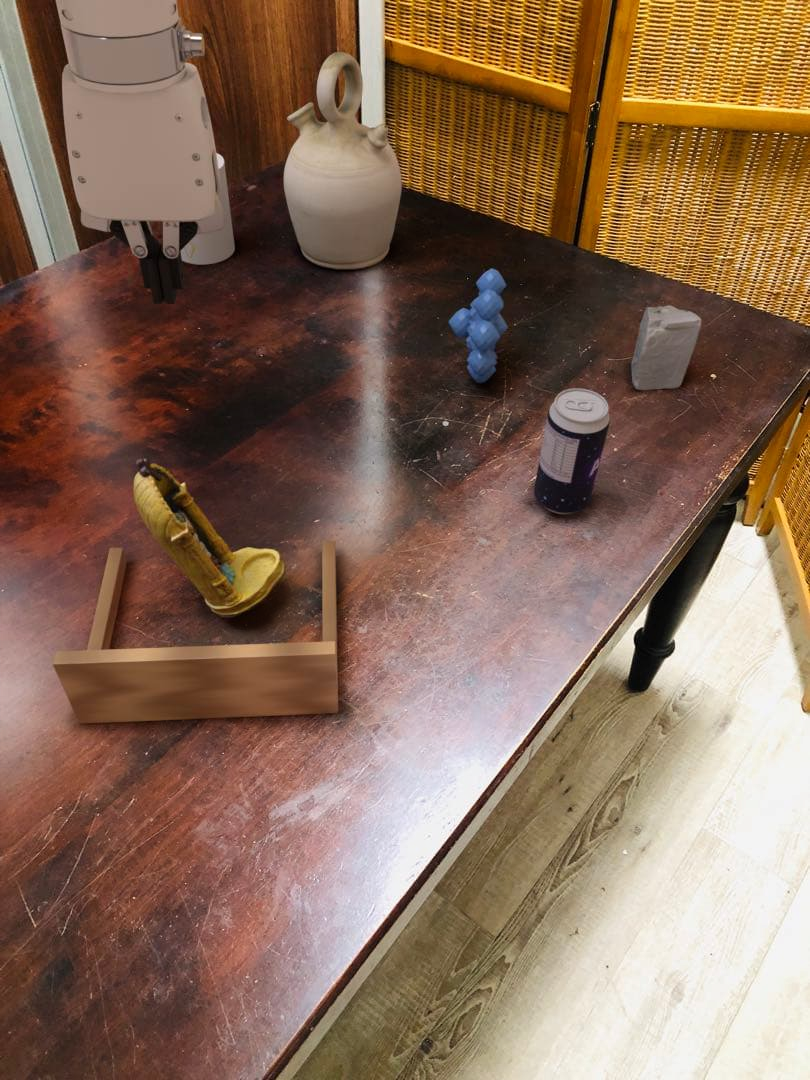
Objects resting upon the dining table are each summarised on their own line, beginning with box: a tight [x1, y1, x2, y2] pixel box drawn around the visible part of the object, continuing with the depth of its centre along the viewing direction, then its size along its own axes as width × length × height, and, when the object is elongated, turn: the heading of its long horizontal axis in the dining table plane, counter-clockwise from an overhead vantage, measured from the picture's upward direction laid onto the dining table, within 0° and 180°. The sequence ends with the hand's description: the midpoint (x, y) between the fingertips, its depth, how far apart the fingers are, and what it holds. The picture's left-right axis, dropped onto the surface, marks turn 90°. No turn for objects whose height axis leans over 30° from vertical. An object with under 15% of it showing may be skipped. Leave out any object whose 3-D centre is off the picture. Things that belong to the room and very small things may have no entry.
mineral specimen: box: [630, 304, 703, 391], centre depth 101 cm, size 7×9×8 cm
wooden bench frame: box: [52, 541, 339, 725], centre depth 73 cm, size 20×17×8 cm
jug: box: [283, 51, 403, 271], centre depth 113 cm, size 15×16×25 cm
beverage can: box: [533, 387, 611, 515], centre depth 84 cm, size 6×6×12 cm
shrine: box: [133, 458, 286, 618], centre depth 73 cm, size 12×8×15 cm
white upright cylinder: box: [181, 152, 236, 266], centre depth 117 cm, size 8×8×12 cm
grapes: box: [448, 267, 509, 384], centre depth 99 cm, size 12×7×12 cm, turn 172°
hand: (166, 294), depth 72 cm, fingers closed
